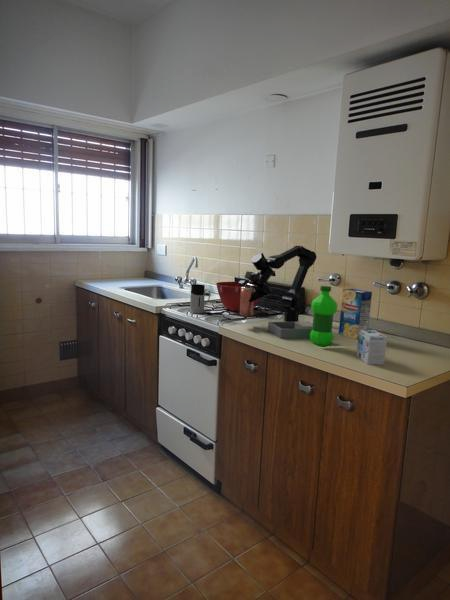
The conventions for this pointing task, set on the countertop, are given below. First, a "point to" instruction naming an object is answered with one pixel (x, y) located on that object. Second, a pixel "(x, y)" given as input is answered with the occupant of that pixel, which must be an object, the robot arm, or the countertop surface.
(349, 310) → the blue food box
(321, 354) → the countertop surface
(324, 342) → the plastic bottle
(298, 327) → the egg carton
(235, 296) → the mixing bowl
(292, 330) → the tote
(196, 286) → the grey handled cylinder
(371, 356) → the light bulb box
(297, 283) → the robot arm
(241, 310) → the tin can
